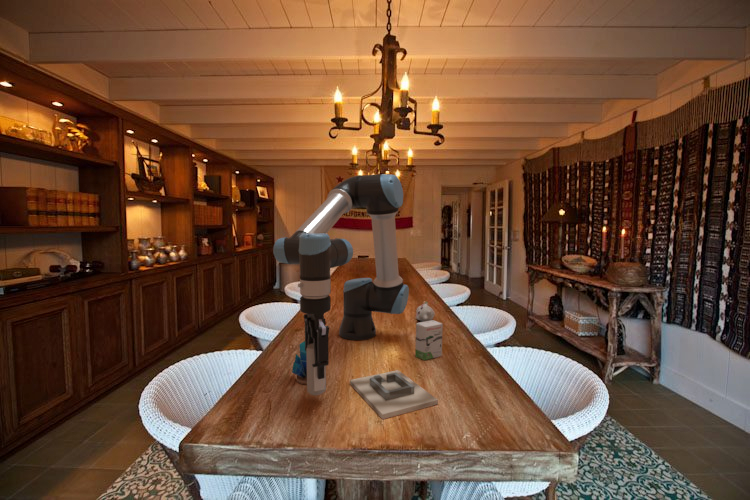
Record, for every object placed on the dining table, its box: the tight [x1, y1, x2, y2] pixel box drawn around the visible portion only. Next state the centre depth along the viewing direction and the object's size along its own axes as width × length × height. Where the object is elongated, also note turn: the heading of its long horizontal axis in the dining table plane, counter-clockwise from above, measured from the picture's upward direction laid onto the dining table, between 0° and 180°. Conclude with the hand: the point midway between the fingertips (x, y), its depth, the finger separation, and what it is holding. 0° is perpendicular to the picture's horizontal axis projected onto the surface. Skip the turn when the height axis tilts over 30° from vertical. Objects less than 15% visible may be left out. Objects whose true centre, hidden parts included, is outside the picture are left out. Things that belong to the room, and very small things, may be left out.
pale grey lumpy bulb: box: [415, 300, 436, 322], centre depth 165 cm, size 10×8×15 cm
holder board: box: [349, 369, 439, 420], centre depth 94 cm, size 20×16×3 cm
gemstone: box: [291, 340, 307, 386], centre depth 102 cm, size 7×9×12 cm
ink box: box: [414, 319, 444, 361], centre depth 121 cm, size 9×5×12 cm, turn 124°
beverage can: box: [306, 343, 327, 396], centre depth 89 cm, size 5×5×12 cm
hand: (316, 384), depth 89 cm, fingers closed on beverage can, 5 cm apart
